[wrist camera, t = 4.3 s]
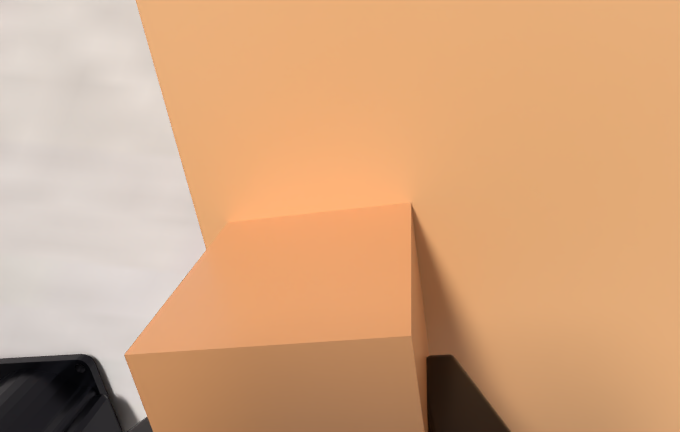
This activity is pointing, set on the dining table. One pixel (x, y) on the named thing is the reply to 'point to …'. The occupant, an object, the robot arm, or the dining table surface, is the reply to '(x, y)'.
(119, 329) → the dining table surface
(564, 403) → the lid
